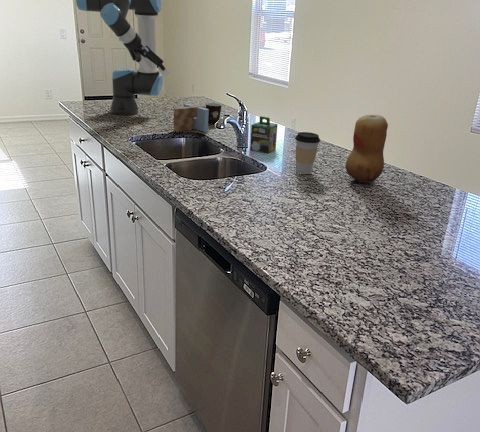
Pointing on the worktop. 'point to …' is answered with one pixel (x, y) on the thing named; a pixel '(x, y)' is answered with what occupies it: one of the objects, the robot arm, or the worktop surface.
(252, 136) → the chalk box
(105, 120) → the worktop surface
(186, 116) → the walnut board
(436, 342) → the worktop surface
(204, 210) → the worktop surface
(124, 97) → the robot arm
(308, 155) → the coffee cup
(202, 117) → the slate-blue board
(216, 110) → the coffee mug
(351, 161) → the butternut squash
